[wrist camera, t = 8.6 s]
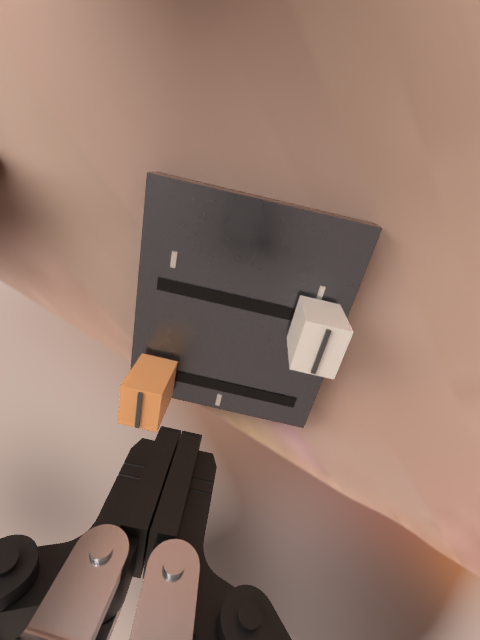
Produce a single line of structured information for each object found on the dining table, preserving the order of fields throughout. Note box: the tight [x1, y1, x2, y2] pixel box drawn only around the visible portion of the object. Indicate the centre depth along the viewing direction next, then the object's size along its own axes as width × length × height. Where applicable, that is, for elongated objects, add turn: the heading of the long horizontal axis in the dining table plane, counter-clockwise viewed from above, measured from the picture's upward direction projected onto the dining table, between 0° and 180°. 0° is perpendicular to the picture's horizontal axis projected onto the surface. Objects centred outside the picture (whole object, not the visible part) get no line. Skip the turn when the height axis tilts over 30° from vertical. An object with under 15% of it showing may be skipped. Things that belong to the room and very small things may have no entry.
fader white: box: [287, 295, 354, 379], centre depth 23 cm, size 4×3×5 cm
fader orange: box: [118, 353, 178, 432], centre depth 26 cm, size 4×3×5 cm
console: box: [131, 172, 382, 428], centre depth 27 cm, size 18×16×2 cm
